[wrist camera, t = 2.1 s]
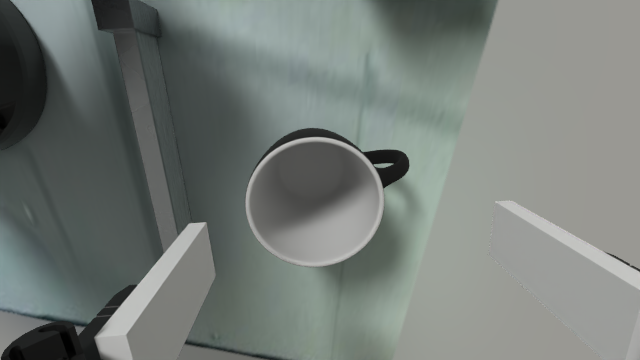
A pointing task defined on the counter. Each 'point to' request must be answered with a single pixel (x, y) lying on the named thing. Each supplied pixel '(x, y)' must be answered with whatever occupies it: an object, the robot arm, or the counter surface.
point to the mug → (319, 196)
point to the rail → (149, 108)
